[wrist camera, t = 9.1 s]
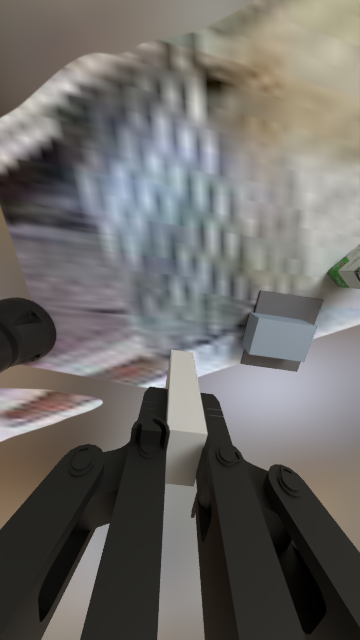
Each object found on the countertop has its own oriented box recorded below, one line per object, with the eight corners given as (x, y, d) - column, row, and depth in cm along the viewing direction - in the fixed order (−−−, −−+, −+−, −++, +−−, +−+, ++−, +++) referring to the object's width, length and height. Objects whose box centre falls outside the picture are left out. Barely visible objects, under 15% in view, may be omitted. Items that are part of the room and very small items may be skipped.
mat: (240, 362, 46) (241, 363, 46) (260, 290, 41) (261, 290, 41) (295, 370, 46) (297, 371, 46) (321, 299, 41) (323, 300, 41)
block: (249, 354, 39) (304, 361, 40) (259, 318, 37) (317, 326, 37) (241, 344, 44) (290, 351, 44) (250, 312, 42) (301, 319, 42)
